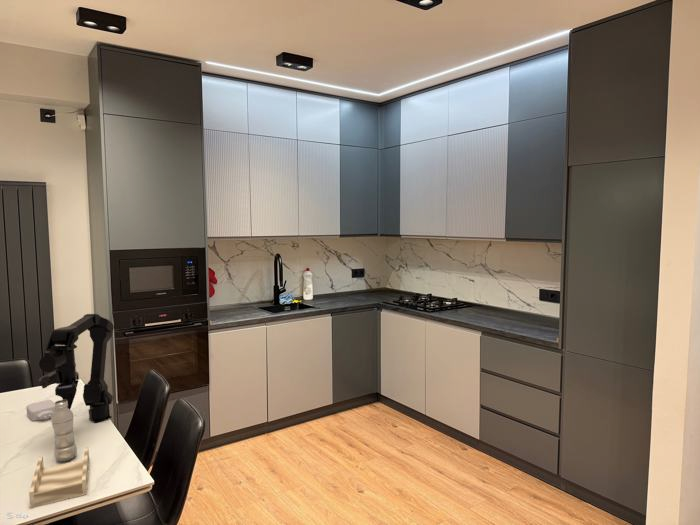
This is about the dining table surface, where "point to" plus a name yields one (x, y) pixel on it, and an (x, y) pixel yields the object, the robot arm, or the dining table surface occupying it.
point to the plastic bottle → (63, 432)
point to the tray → (59, 481)
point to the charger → (41, 410)
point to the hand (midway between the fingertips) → (69, 405)
